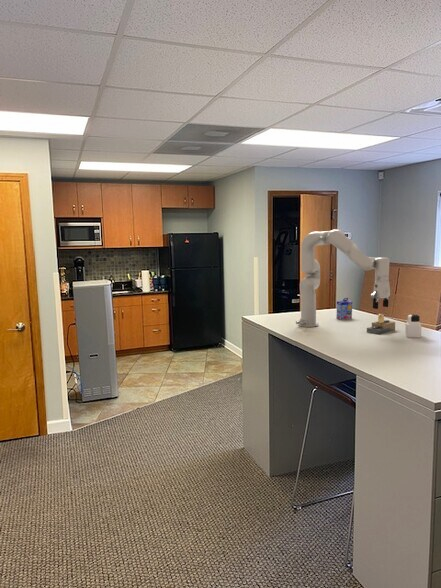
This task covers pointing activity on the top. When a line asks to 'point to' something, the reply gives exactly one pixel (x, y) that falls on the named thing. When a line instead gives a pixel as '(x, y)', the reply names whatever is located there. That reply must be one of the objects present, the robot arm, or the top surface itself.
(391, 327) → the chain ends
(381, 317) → the pin
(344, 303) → the ink cartridge box
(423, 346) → the top surface
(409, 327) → the medicine bottle
